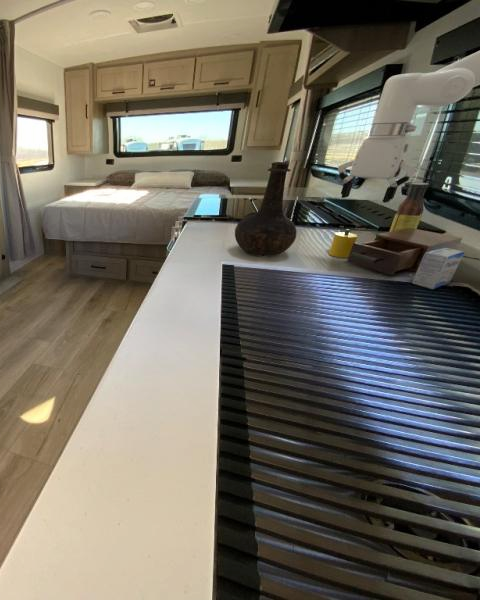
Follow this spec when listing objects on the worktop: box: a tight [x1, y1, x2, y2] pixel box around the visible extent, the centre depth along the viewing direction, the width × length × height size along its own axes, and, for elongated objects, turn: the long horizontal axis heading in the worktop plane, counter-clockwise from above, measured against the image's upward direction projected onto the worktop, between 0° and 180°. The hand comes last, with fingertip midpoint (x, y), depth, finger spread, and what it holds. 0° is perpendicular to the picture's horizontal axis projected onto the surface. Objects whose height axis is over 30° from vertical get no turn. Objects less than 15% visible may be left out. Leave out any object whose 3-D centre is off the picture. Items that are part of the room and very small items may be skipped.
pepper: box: [328, 228, 358, 259], centre depth 104 cm, size 6×6×8 cm
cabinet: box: [374, 228, 463, 273], centre depth 97 cm, size 16×13×8 cm
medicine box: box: [411, 248, 466, 290], centre depth 83 cm, size 8×4×9 cm, turn 114°
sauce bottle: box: [388, 182, 429, 232], centre depth 107 cm, size 7×6×20 cm
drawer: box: [346, 239, 424, 276], centre depth 93 cm, size 19×11×6 cm, turn 111°
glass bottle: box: [234, 161, 298, 257], centre depth 104 cm, size 18×18×28 cm
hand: (364, 199), depth 93 cm, fingers open, 9 cm apart
